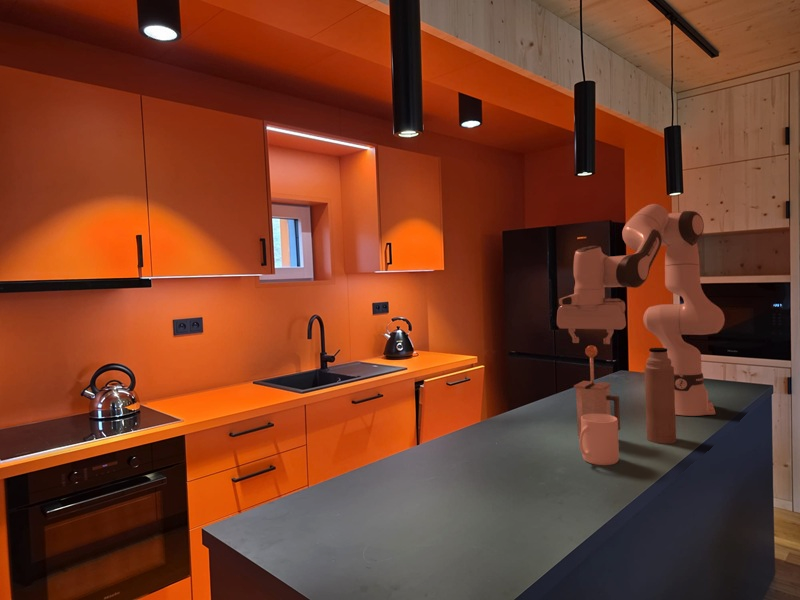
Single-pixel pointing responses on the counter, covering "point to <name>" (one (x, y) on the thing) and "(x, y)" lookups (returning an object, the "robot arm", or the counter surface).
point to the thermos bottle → (660, 397)
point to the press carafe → (595, 401)
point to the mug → (599, 439)
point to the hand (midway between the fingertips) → (591, 343)
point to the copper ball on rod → (591, 360)
